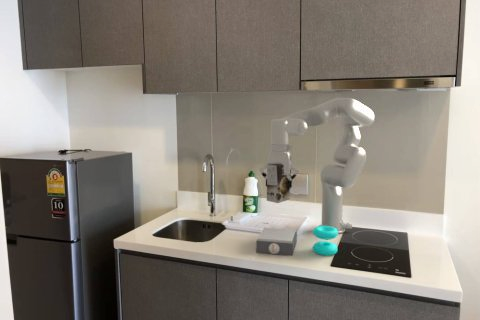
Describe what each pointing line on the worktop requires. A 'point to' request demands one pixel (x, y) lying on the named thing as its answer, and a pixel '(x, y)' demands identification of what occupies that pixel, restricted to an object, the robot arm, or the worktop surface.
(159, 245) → the worktop surface
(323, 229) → the donuts
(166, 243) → the worktop surface
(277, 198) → the coffee box
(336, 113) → the robot arm
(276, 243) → the scale
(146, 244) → the worktop surface
